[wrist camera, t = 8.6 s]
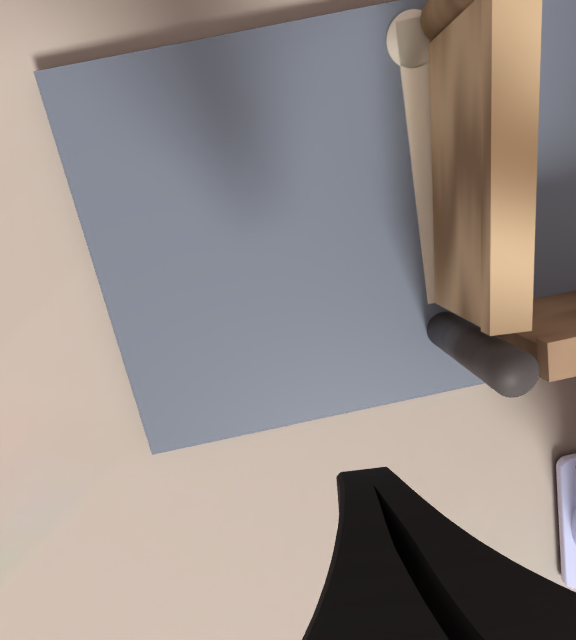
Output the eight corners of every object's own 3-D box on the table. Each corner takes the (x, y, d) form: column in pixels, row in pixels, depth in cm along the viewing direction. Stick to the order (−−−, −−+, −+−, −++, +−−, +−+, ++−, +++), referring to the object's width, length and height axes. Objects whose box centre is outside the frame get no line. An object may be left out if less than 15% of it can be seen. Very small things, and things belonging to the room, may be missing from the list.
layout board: (750, -63, 18) (771, -74, 17) (728, 324, 22) (744, 328, 21) (40, 76, 17) (32, 70, 16) (155, 447, 21) (151, 455, 20)
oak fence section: (464, 299, 19) (541, 332, 14) (428, 303, 19) (491, 339, 14) (462, -9, 16) (556, -107, 11) (419, -5, 16) (495, -102, 11)
